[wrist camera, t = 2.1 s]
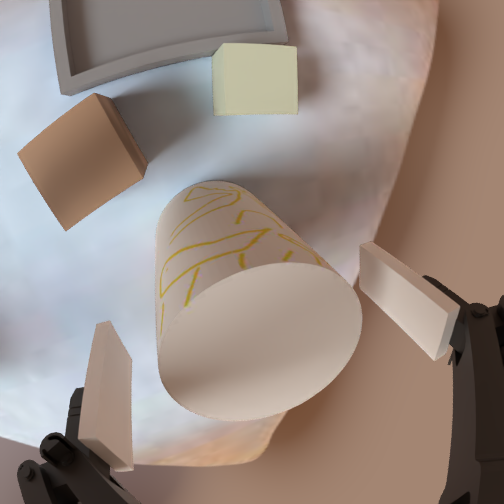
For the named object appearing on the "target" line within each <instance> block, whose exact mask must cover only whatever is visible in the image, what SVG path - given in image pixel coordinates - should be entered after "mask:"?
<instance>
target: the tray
mask: <svg viewBox="0 0 504 504" xmlns="http://www.w3.org/2000/svg"><path fill="white" fill-rule="evenodd" d="M49 7H50V20H51V31H52V40H53V48H54V56H55V63H56V69H57V75H58V81H59V86H60V92H61V94H62V95H67V96H72V95H75V94H77V93H80V92H82V91H85V90H88V89H90V88H93V87H96V86H98V85H101V84H104V83H107V82H110V81H113V80H116V79H119V78H122V77H125V76H128V75H132V74H135V73H139V72H142V71H146V70H149V69H153V68H157V67H161V66H165V65H169V64H173V63H178V62H182V61H187V60H192V59H197V58H202V57H208V56H213V55H214V53H215V52H216V51H217V50H218V49H219V48H220V46H221V45H222V44H223V43H249V44H270V45H284V44H286V43H288V42H289V40H288V35H287V30H286V25H285V21H284V16H283V12H282V7H281V3H280V0H49Z"/></svg>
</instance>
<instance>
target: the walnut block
mask: <svg viewBox="0 0 504 504" xmlns="http://www.w3.org/2000/svg"><path fill="white" fill-rule="evenodd" d="M17 154H18V156H19V158H20V160H21V161H22V163H23V165H24V167H25V169H26V170H27V172H28V174H29V175H30V177H31V179H32V180H33V182H34V184H35V185H36V187H37V189H38V190H39V192H40V194H41V195H42V197H43V198H44V200H45V201H46V203H47V205H48V206H49V208H50V209H51V211H52V212H53V214H54V215H55V217H56V218H57V220H58V221H59V223H60V224H61V226H62V227H63V228H64V230H65V231H67V230H68V229H70V228H71V227H72V226H74V225H75V224H77V223H78V222H79V221H81V220H82V219H83V218H85V217H86V216H88V215H89V214H90V213H92V212H93V211H95V210H96V209H97V208H99V207H100V206H102V205H103V204H105V203H106V202H108V201H109V200H111V199H112V198H114V197H115V196H117V195H118V194H120V193H121V192H123V191H124V190H126V189H127V188H129V187H130V186H132V185H133V184H135V183H137V182H138V181H140V180H141V179H143V177H144V174H145V171H146V169H147V166H148V162H147V161H146V159H145V157H144V156H143V154H142V152H141V150H140V149H139V147H138V145H137V143H136V142H135V140H134V138H133V136H132V135H131V133H130V131H129V129H128V128H127V126H126V124H125V122H124V120H123V119H122V117H121V115H120V113H119V112H118V110H117V108H116V106H115V104H114V102H113V101H112V99H111V98H108V97H105V96H103V95H100V94H97V93H93V94H92V95H90V96H89V97H87V98H86V99H84V100H83V101H81V102H80V103H79V104H77V105H76V106H74V107H73V108H72V109H70V110H69V111H68V112H66V113H65V114H64V115H62V116H61V117H60V118H58V119H57V120H56V121H55V122H53V123H52V124H51V125H49V126H48V127H47V128H46V129H45V130H43V131H42V132H41V133H40V134H39V135H37V136H36V137H35V138H34V139H33V140H32V141H30V142H29V143H28V144H27V145H26V146H25V147H24V148H23V149H21V150H20V151H19V152H18V153H17Z"/></svg>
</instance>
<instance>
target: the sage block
mask: <svg viewBox="0 0 504 504" xmlns="http://www.w3.org/2000/svg"><path fill="white" fill-rule="evenodd" d="M212 85H213V112H214V116H226V115H250V114H298V80H297V47H295V46H284V45H270V44H249V43H223V44H222V45H221V46H220V48H219V49H218V50H217V51H216V52H215V53H214V55H213V56H212Z"/></svg>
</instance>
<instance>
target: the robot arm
mask: <svg viewBox="0 0 504 504" xmlns="http://www.w3.org/2000/svg"><path fill="white" fill-rule="evenodd" d="M360 289H361V290H362V291H364V293H366V295H368V296H369V297H370V298H371V299H372V300H373V301H374V302H375V303H376V304H377V305H378V306H379V307H380V308H381V309H382V310H383V311H384V312H385V313H386V314H387V315H389V317H390V318H392V319H393V320H394V321H395V322H396V323H397V324H398V325H399V326H400V327H401V328H402V329H403V330H404V331H405V332H406V333H407V334H408V335H409V336H410V337H411V338H412V339H413V340H414V341H415V342H416V343H417V344H418V345H419V346H420V347H421V348H422V349H423V350H424V351H425V352H426V353H427V354H428V355H429V356H430V357H431V358H432V359H433V360H434V361H435V360H437V359H438V358H440V357H441V356H443V355H444V354H446V352H447V349H448V346H449V344H450V345H451V346H452V347H453V351H452V354H451V356H450V359H449V362H448V365H450V364H451V361H452V363H453V421H452V438H451V449H450V459H449V468H448V475H447V482H446V486H445V489H444V491H443V493H442V495H441V498H440V500H439V504H504V295H503V296H502V297H501V298H500V301H499V304H498V305H497V306H493V307H489V308H488V307H487V306H485V305H483V304H480V303H472V304H468V303H467V302H466V301H464V300H463V299H462V298H460V297H459V296H458V295H456V294H455V293H454V292H452V291H451V290H448V288H447V287H446V286H444V285H442V284H441V283H440V282H439V281H437V280H436V279H434V278H432V277H429V276H426V275H425V276H422V277H421V276H420V275H418V274H417V273H416V272H414V271H413V270H411V269H410V268H409V267H407V266H406V265H405V264H403V263H402V262H400V261H399V260H397V259H396V258H395V257H393V256H392V255H390V254H389V253H387V252H386V251H384V250H383V249H382V248H380V247H379V246H377V245H376V244H374V243H373V242H368V243H365V244H362V245H360ZM131 381H132V359H131V357H130V355H129V354H128V352H127V350H126V349H125V347H124V345H123V343H122V342H121V340H120V338H119V336H118V334H117V333H116V331H115V329H114V327H113V325H112V323H111V321H106V322H102V323H99V324H96V329H95V333H94V338H93V343H92V347H91V352H90V358H89V363H88V368H87V374H86V380H85V386H84V387H82V388H76V389H75V391H74V393H73V395H72V397H71V399H70V405H69V408H70V409H69V412H68V418H67V425H66V433H65V436H63V435H62V434H61V433H57V432H55V433H50V434H49V435H47V436H46V437H45V438H44V439H43V440H42V442H41V445H40V454H41V457H42V458H44V459H45V460H46V461H47V462H46V463H44V464H41V465H38V464H37V463H36V462H35V461H33V460H26V461H24V462H23V463H22V464H21V465H20V467H19V468H18V472H17V477H18V482H19V486H20V489H21V493H22V496H23V500H24V502H25V504H141V503H140V502H139V501H138V500H137V499H136V498H135V497H134V496H133V495H131V494H130V493H129V492H128V491H127V490H126V489H125V488H124V487H123V486H122V485H121V484H120V483H119V482H118V481H117V480H116V479H115V478H114V477H113V476H112V475H110V467H111V468H113V469H114V470H115V471H117V472H121V471H131V470H133V469H134V468H133V452H132V424H131Z"/></svg>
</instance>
